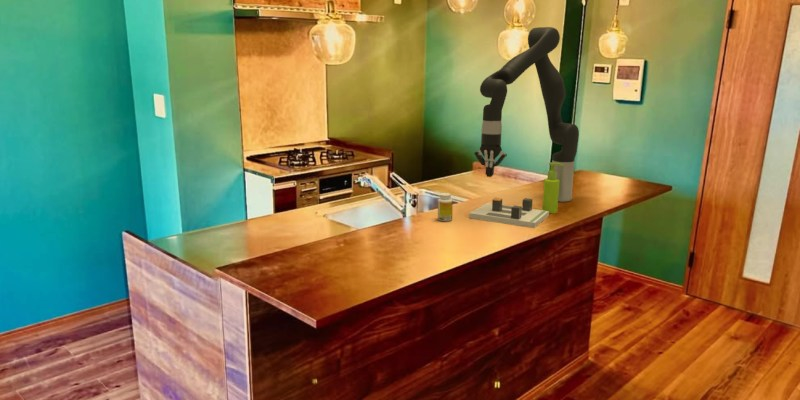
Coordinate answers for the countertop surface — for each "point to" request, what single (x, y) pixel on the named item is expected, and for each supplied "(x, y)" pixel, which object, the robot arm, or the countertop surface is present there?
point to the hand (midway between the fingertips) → (489, 176)
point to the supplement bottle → (445, 207)
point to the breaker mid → (497, 204)
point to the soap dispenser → (551, 190)
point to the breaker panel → (509, 215)
